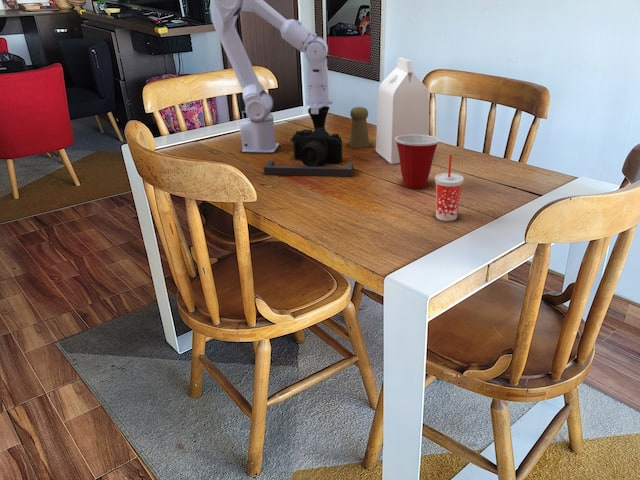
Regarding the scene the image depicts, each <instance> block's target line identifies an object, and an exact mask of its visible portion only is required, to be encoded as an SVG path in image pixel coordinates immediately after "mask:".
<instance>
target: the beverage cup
mask: <svg viewBox="0 0 640 480" xmlns="http://www.w3.org/2000/svg"><path fill="white" fill-rule="evenodd" d="M448 157H449V158H448V160H449V161H448V172H443V173H438V174H435V176H434V183H435V217H436V219H438V220H440V221H444V222H451V221H455V220H457V218H458V213H459V206H460V200H461V192H462V186H463V183H464V179H465V178H464V176H463V175H461V174H458V173H453V172H452V161H453V154H449V156H448Z"/></svg>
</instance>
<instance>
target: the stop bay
mask: <svg viewBox="0 0 640 480" xmlns="http://www.w3.org/2000/svg"><path fill="white" fill-rule="evenodd" d="M354 164H355V163H354V161H353V162H351V161H348V162H347V164H346V166H315V167H311V166H306V165H304V166H303V165H301V166H300V165H275V160H271V159H270V160H268V161H267V162H266V163H265V165H264V167H263V170H264V171H263V172H264V175H272V176H273V175H274V176H279V175H280V176H310V177H311V176H315V177H352V176H353V173H354V169H355V165H354Z"/></svg>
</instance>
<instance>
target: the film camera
mask: <svg viewBox="0 0 640 480" xmlns="http://www.w3.org/2000/svg"><path fill="white" fill-rule="evenodd" d="M290 143H292V147H293V149H292V150H293V151H292V152H293V158H294V160H298V161H301V162H302V164H303V165H304V166H311V167H319V166H320V164H324V163H325V164H327V163H328V164H341V163H342V162H343V159H344V158H343V139H342V137H341V136H340V135H339V133H332V134H329V132H328V131H327V130H326V128H325V127H323V128H319V127H317V128H316V130H315V129H314V130H313V129H307V128H306V129H302V130H296V131H295V133H294V134H293V135H292V137H291V138H290Z"/></svg>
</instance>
